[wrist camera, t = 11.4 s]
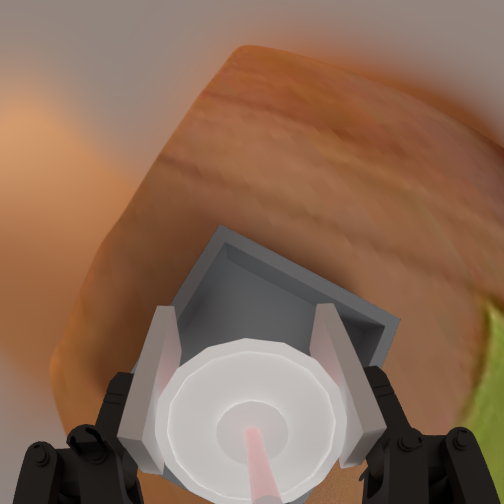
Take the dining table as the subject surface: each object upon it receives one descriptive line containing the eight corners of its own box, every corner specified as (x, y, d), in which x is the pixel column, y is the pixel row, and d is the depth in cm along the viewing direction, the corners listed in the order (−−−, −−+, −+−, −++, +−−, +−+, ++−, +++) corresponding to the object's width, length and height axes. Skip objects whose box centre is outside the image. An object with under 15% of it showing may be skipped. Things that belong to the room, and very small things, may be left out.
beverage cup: (276, 452, 15) (354, 608, 2) (180, 422, 16) (61, 543, 2) (309, 363, 17) (475, 364, 4) (213, 332, 18) (143, 260, 4)
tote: (223, 248, 26) (220, 224, 22) (373, 326, 24) (400, 319, 20) (122, 421, 21) (97, 434, 16) (276, 501, 19) (284, 528, 14)
